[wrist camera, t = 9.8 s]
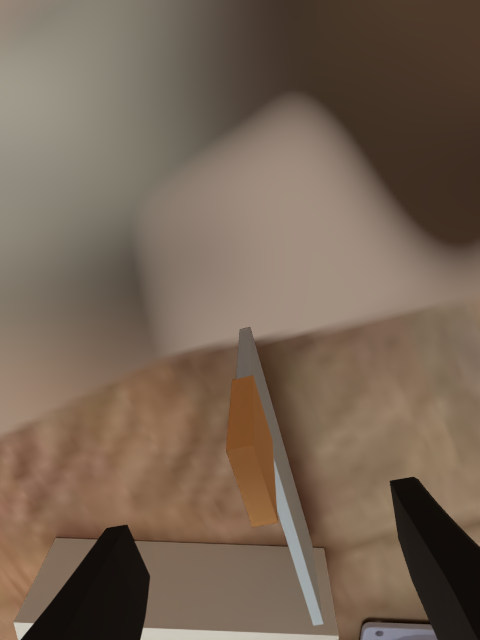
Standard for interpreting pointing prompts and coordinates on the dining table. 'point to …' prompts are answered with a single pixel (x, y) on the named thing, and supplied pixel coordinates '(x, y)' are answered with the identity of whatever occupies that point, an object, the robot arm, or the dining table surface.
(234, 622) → the carton
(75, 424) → the dining table surface
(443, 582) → the robot arm
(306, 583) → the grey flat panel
